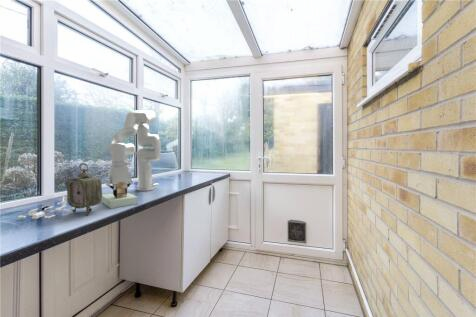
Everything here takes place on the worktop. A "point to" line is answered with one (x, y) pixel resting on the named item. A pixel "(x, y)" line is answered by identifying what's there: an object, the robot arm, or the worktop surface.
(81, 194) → the tabletop clock
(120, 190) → the oak post
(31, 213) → the miniature set
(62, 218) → the worktop surface
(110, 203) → the board
